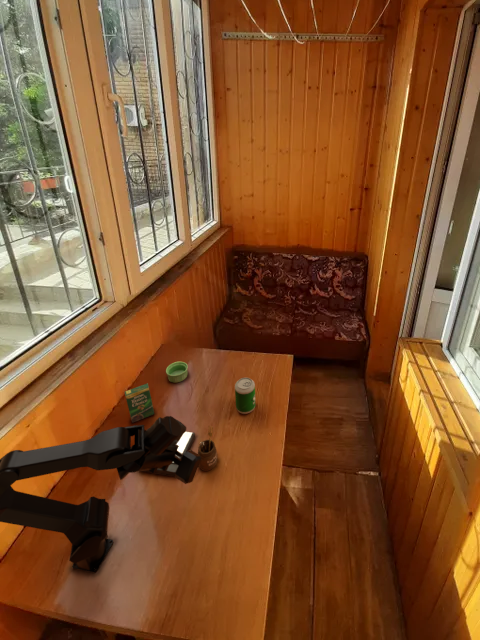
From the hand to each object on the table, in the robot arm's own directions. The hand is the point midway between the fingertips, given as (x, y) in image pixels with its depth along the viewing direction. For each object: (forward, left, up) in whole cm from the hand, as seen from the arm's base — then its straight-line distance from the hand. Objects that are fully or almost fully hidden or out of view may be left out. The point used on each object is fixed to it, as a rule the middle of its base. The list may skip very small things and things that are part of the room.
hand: (187, 451), depth 89 cm
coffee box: (+20, +28, -13) cm, 37 cm away
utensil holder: (+7, -3, -13) cm, 15 cm away
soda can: (+30, -9, -13) cm, 34 cm away
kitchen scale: (+8, +11, -13) cm, 19 cm away
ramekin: (+42, +25, -13) cm, 51 cm away
